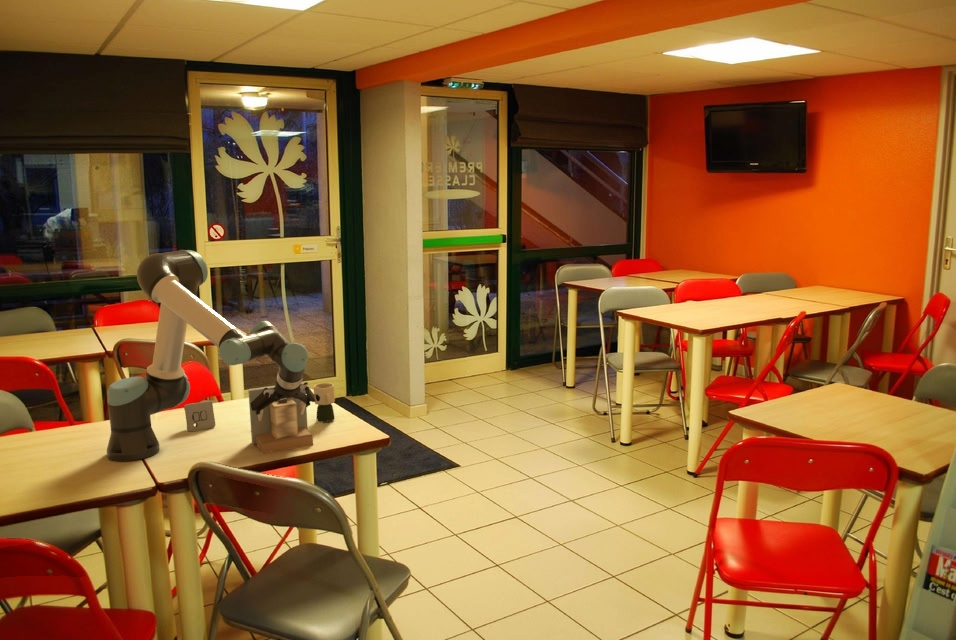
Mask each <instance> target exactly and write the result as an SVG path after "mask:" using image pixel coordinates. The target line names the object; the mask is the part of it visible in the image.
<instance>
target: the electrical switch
mask: <svg viewBox="0 0 956 640" xmlns="http://www.w3.org/2000/svg"><path fill="white" fill-rule="evenodd" d="M183 408H184V413H185V421H186V430H187V432H189V433H191V432H195V431H201V430H202V431H203V430H208V429H213V428H215V426H216V421H215V420H216V419H215V411H214V405H213V401H210V400H207V401H202V402H196V403H195V402H194V403H188V404H185V405H184V406H183ZM194 424H195V425H194Z"/></svg>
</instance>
